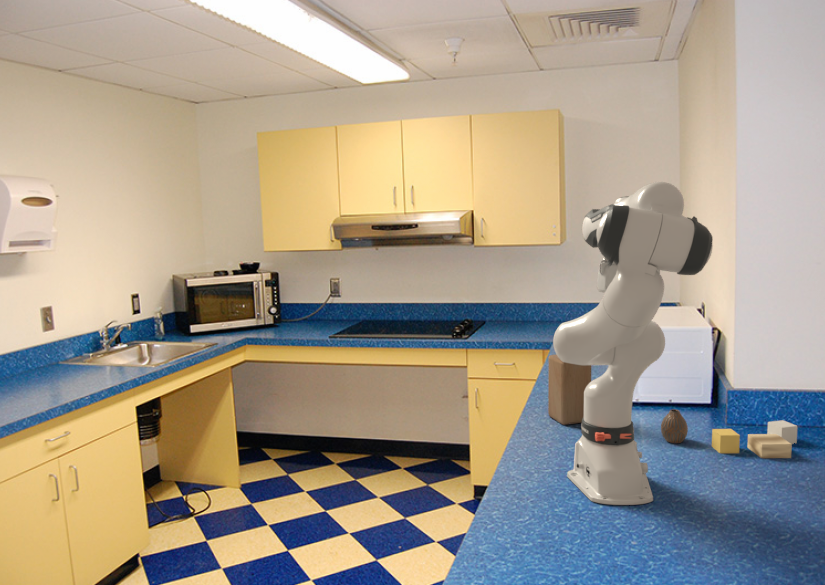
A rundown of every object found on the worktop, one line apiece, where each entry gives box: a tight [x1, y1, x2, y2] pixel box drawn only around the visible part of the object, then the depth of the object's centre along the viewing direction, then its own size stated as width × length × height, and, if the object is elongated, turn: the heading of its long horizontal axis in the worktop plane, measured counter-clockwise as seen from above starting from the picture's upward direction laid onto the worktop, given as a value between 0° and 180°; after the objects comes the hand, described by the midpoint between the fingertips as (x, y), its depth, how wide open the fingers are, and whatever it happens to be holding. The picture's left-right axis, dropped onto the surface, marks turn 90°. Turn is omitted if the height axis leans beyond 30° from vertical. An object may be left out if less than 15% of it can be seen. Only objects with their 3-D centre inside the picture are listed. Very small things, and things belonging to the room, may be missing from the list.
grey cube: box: [766, 419, 798, 445], centre depth 176 cm, size 5×5×5 cm
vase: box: [660, 408, 689, 444], centre depth 178 cm, size 7×7×9 cm
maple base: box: [747, 433, 793, 459], centre depth 168 cm, size 8×8×4 cm
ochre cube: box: [711, 428, 741, 454], centre depth 171 cm, size 5×5×5 cm
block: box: [547, 353, 592, 426], centre depth 197 cm, size 10×10×20 cm
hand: (628, 306), depth 176 cm, fingers open, 8 cm apart
